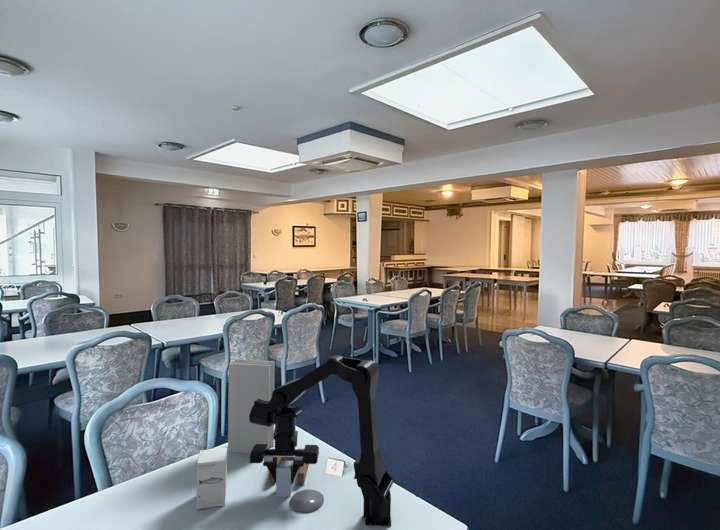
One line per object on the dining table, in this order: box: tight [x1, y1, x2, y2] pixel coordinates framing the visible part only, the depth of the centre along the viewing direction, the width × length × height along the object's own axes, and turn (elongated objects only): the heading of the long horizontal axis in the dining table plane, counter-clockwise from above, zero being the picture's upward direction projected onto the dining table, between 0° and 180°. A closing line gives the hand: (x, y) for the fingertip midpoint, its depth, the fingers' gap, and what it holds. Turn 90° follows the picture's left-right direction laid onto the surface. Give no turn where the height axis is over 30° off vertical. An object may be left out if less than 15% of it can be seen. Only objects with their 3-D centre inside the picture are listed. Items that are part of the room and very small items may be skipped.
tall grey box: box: [227, 359, 276, 454], centre depth 134 cm, size 14×6×30 cm, turn 84°
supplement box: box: [195, 447, 228, 511], centre depth 106 cm, size 7×7×13 cm
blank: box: [275, 461, 294, 498], centre depth 110 cm, size 4×4×8 cm
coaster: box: [290, 488, 325, 513], centre depth 107 cm, size 9×9×1 cm
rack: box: [269, 457, 310, 486], centre depth 120 cm, size 10×13×4 cm
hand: (284, 483), depth 110 cm, fingers closed on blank, 4 cm apart
